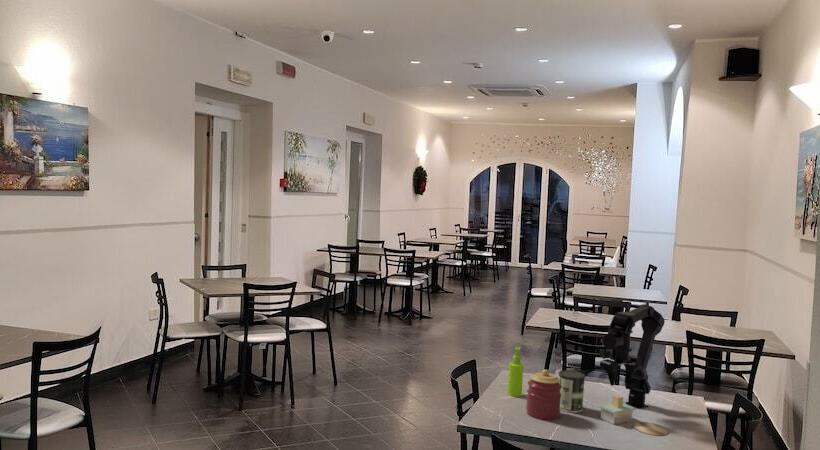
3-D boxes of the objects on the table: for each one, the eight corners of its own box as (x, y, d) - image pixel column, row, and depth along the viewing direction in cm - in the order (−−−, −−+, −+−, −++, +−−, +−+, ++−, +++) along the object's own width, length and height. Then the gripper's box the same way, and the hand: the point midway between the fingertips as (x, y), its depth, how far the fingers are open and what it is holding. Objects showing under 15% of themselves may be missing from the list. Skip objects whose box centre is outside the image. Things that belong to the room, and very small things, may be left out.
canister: (562, 412, 251) (566, 368, 250) (555, 422, 239) (559, 376, 238) (530, 406, 256) (533, 362, 255) (521, 415, 245) (524, 370, 244)
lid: (619, 405, 251) (620, 391, 251) (634, 412, 245) (635, 397, 245) (599, 409, 246) (600, 395, 246) (614, 415, 239) (615, 401, 239)
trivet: (648, 421, 246) (648, 420, 246) (675, 432, 236) (675, 431, 236) (626, 425, 240) (626, 424, 240) (653, 437, 230) (653, 436, 230)
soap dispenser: (522, 392, 273) (526, 346, 271) (520, 397, 266) (523, 350, 265) (509, 390, 274) (512, 345, 273) (506, 395, 268) (509, 348, 267)
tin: (618, 415, 251) (619, 404, 251) (631, 421, 245) (632, 409, 245) (600, 418, 246) (601, 407, 246) (613, 424, 240) (614, 413, 240)
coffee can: (581, 405, 260) (584, 371, 259) (583, 414, 250) (585, 379, 249) (555, 402, 262) (558, 368, 261) (556, 411, 252) (558, 376, 251)
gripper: (620, 337, 264) (618, 374, 265) (590, 342, 253) (587, 381, 255) (643, 344, 254) (641, 382, 256) (612, 349, 244) (610, 389, 245)
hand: (619, 383), depth 253 cm, fingers open, 9 cm apart
